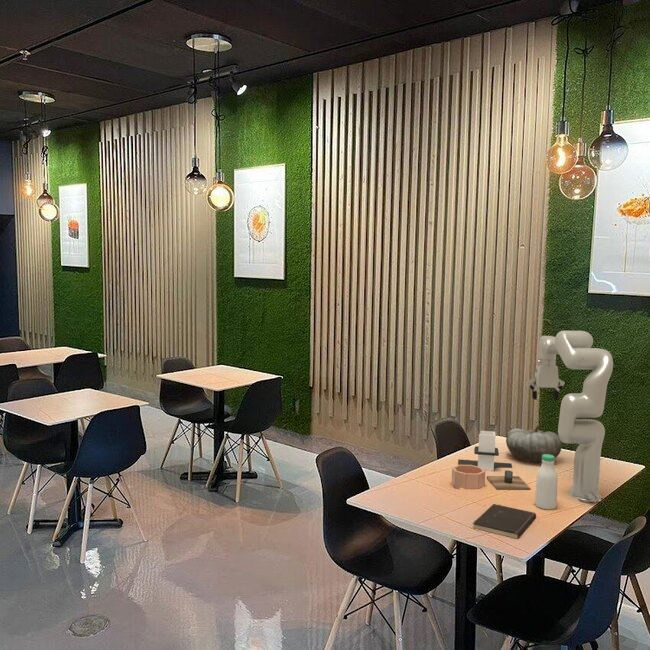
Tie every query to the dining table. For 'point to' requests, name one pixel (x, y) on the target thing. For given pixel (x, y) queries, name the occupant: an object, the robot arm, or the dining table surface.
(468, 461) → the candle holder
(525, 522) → the hardcover book
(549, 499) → the milk bottle
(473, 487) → the terracotta bowl
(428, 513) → the dining table surface
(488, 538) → the dining table surface
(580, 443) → the robot arm
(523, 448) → the gourd
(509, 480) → the walnut lid
